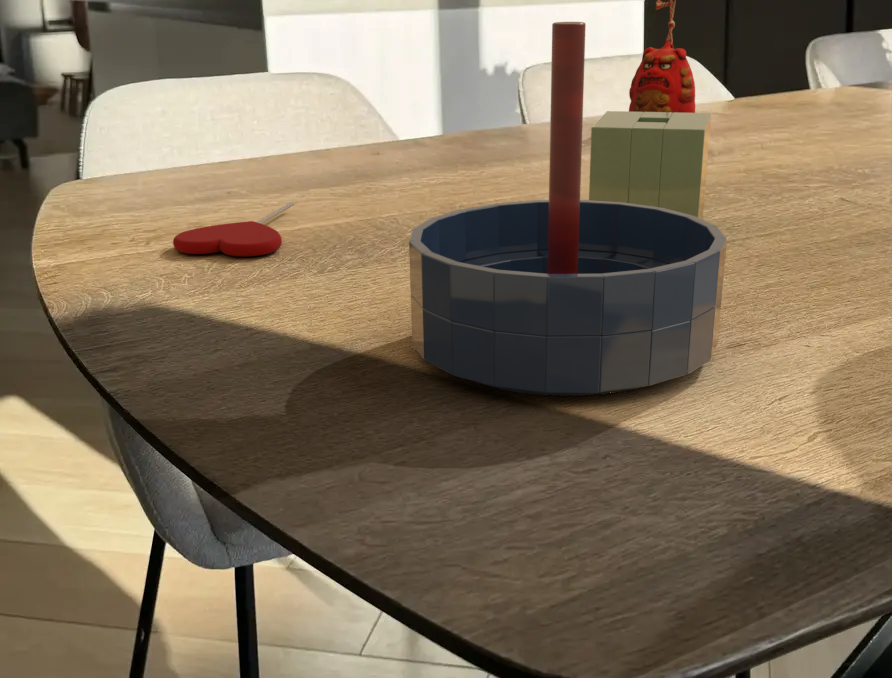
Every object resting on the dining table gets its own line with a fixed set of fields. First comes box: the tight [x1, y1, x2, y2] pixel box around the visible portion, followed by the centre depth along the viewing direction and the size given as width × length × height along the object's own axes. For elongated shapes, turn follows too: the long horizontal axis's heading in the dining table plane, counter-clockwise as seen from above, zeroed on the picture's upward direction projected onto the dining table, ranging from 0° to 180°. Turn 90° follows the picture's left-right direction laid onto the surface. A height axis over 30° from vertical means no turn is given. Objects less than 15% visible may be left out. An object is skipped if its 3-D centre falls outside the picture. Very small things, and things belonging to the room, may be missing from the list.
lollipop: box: [172, 201, 295, 257], centre depth 86 cm, size 8×1×15 cm
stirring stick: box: [547, 21, 587, 274], centre depth 57 cm, size 2×2×16 cm
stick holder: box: [588, 110, 712, 220], centre depth 84 cm, size 8×8×8 cm
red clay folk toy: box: [628, 0, 696, 113], centre depth 124 cm, size 8×7×15 cm
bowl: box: [408, 199, 728, 397], centre depth 59 cm, size 16×16×6 cm
